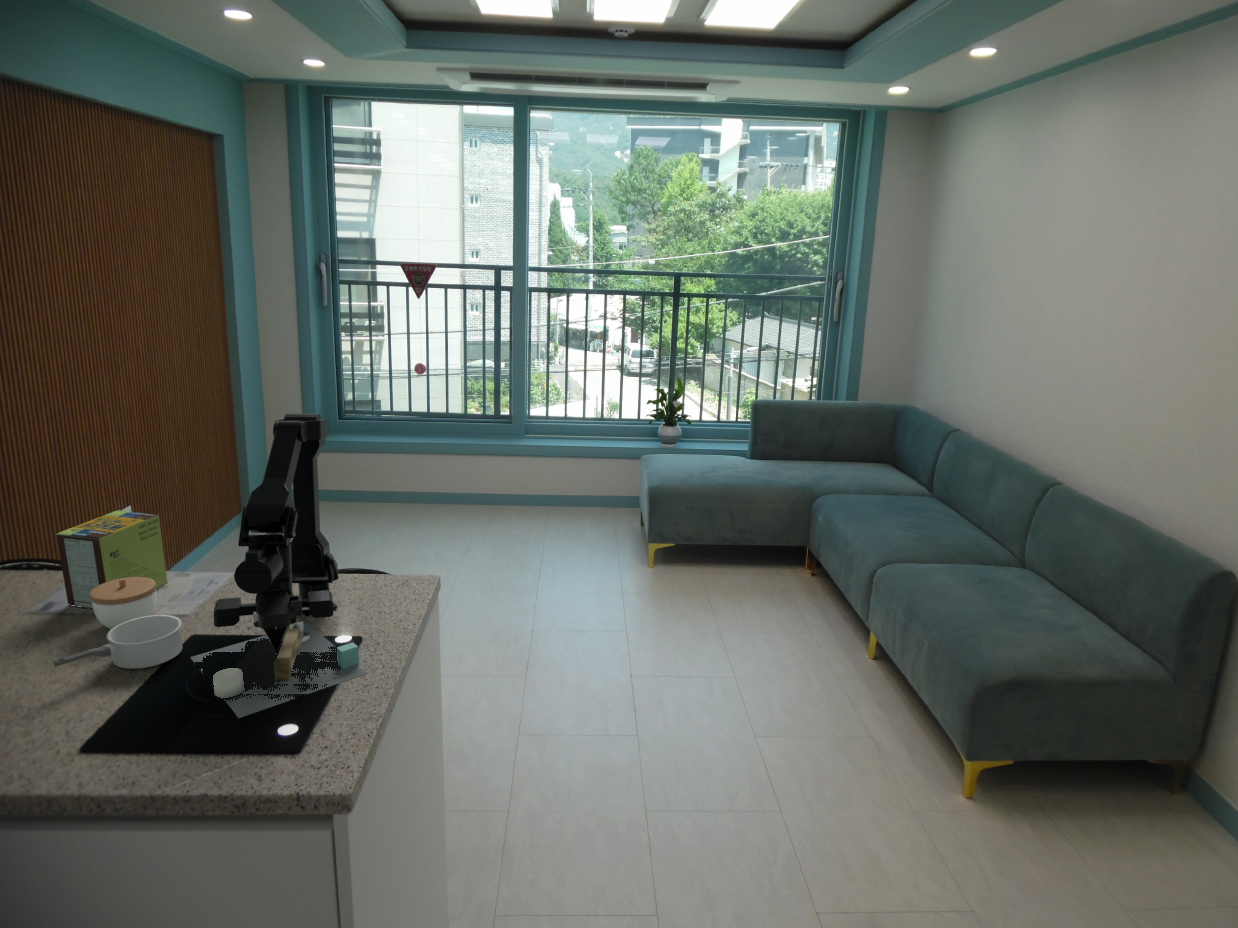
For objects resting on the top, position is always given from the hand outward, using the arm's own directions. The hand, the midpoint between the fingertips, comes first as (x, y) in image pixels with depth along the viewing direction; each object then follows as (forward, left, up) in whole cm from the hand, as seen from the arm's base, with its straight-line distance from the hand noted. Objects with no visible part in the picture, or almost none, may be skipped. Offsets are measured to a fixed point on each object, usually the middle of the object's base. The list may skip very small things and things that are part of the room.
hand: (276, 652), depth 143 cm
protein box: (-49, -14, -2) cm, 51 cm away
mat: (+2, -1, -2) cm, 2 cm away
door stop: (+5, -10, -2) cm, 11 cm away
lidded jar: (-32, -16, -2) cm, 36 cm away
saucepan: (-15, -21, -2) cm, 25 cm away
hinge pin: (-6, +6, -2) cm, 9 cm away
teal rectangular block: (+9, +9, -2) cm, 13 cm away
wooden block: (+2, +1, -1) cm, 3 cm away
